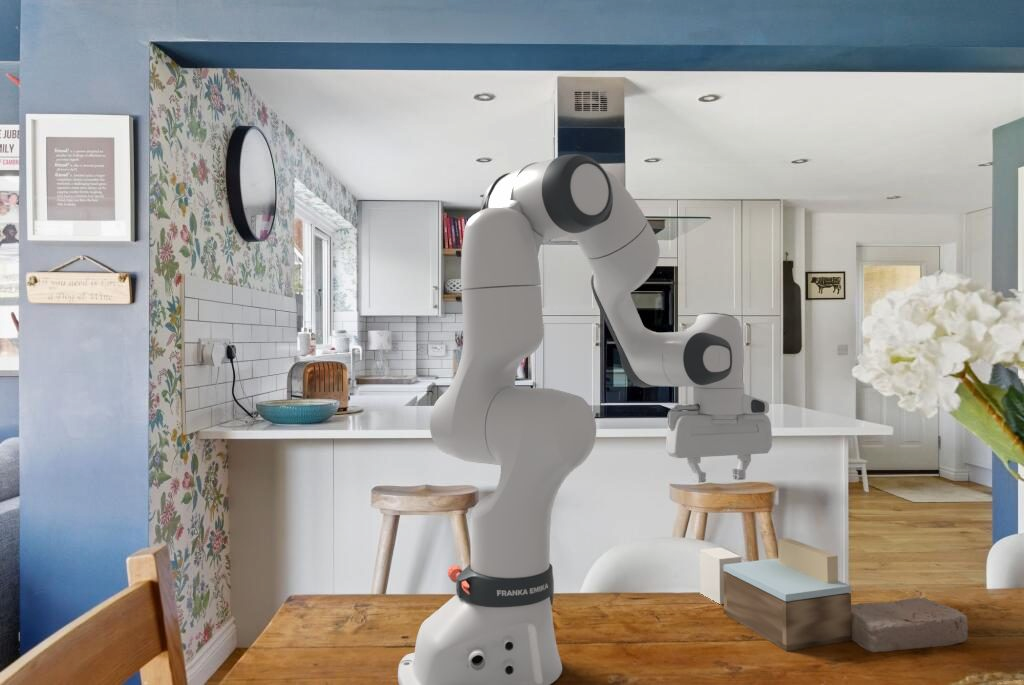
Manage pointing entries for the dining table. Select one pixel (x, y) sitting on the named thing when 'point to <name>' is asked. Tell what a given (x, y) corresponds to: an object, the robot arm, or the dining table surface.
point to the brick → (906, 625)
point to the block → (714, 572)
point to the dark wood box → (788, 615)
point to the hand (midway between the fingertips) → (719, 480)
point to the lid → (793, 572)
